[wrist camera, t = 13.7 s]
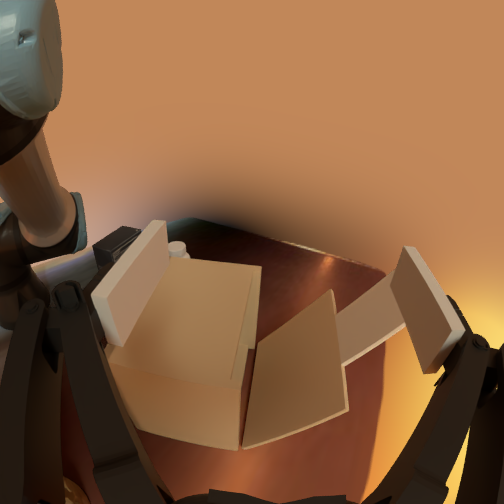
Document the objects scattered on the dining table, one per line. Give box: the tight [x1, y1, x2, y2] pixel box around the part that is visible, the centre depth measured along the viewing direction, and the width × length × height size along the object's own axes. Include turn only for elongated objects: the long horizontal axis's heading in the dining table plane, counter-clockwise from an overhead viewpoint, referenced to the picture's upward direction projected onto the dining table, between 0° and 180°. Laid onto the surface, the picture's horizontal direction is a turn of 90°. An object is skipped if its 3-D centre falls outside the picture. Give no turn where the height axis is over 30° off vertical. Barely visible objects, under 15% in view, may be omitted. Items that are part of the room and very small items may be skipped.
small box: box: [92, 226, 141, 270], centre depth 60 cm, size 11×6×10 cm, turn 160°
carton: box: [104, 256, 261, 451], centre depth 36 cm, size 14×20×16 cm
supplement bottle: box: [168, 241, 190, 259], centre depth 59 cm, size 5×5×10 cm
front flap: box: [242, 268, 406, 450], centre depth 34 cm, size 1×20×26 cm
